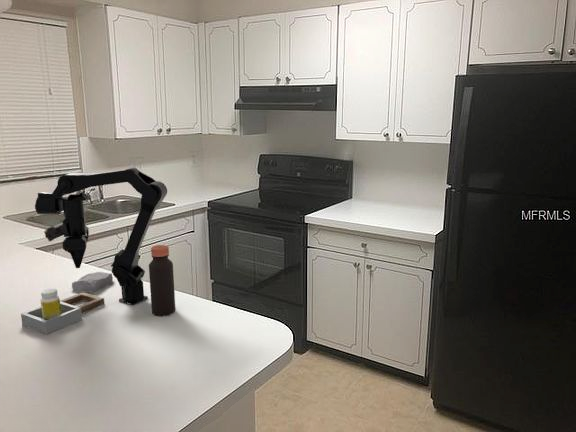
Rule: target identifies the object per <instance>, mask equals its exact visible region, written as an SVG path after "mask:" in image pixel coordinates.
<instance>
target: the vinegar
mask: <svg viewBox="0 0 576 432" xmlns="http://www.w3.org/2000/svg"><path fill="white" fill-rule="evenodd" d="M169 248H170V247H169V246H168V245H165V244H158V245H154V246H151V248H150V252H151V254H150V255H151V258H152V260H151V261H150V262H149V264H148V272H149V289H150V291H149V292H150V305H151V314H152V315H153V316H156V317H167V316H170V315H171V316H172V315H173V314H174V313H175V312H176V296H175V280H174V278H175V277H174V263H173V261H172V260H170V259H169V256H170V255H169V254H170V249H169Z"/></svg>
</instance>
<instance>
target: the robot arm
mask: <svg viewBox="0 0 576 432" xmlns="http://www.w3.org/2000/svg"><path fill="white" fill-rule="evenodd" d="M56 183H57V185H56V187H55V189H54V190H53V192H47V191H40V192H38V193H37V198H36V199H35V204H34V208H35V210H34V211H35V212H36V214H38V215H52V216H53V215H57V216H58V215H60V214H61V213H62V212H63V220H62V222H61V223H58V224H55V225H51V226H50V227H47V228H45V230H44V231H43V234H44V236H45V238H46V239H47V241H48V242H52V241H54V240H55V239H58V238H60V237H63V238H64V239H63V240H62V243H61V244H62V250H64V252H67V253H69V254H70V256H71V259H72V262H73V264H74V267H75V268H76V269H80V268H81V265H82V262H83V259H84V256H85V253H86V251H87V250H86V249H87V244H88V239H89V235H90V230H89V227H88V226H87V224H86V215H85V209H84V208H85V207H84V206H85V205H84V202H85V201H88V200H89V199H91V196H90V195H88V194H87V193H86V192H85V191H84V190H85V189H86V190H87V189H89V188H91V187H100V186H108V185H116V184H123V183H128V184H129V185H131V187H132V188H133V189H134V190H135V191H136V192H137V193H139V194H140V195H141V196H140V197H141V198H140V209H139V212H138V215H137V218H136V220H135V222H134V224H133V227H132V229H131V232H130V235H129V238H128V240H127V243H126V245H125V248H124V249H123V248H122V249H121V250H120V251H117V253H116V254H115V255H114V259H113V262H112V264H111V265H110V267H111V274H112V276H114V278H116V281H117V282H118V284H119V286H120V288H121V298H119V299H118V301H119V302H120V303H121V302H122V303H125V304H128V305H135V304H139V303H140V302H143V301H145V300H147V299H149V296H147V295H145V292H144V291H145V290H144V281H143V280H142V278H144V276H145V273H146V271H145V269H143V268H142V267H141V266H140V265H139V264H138V263H139V258H140V257H139V255H140V250H141V247H142V245H143V242H144V240H145V238H146V237H145V236H146V234H147V231H148V229H149V227H150V224H151V222H152V220H153V217H154V214H155V213H156V211H157V209H158V208H159V207H160V206H161V204H162V203H163V201H164V199H165V198H166V196H167V194H168V188H167V186H166V185H165V183H164V182H162V181H160V180H159V181H158V180H155V179H154V178H153V177H150V176H149V175H147V174H145V173H143V172H142V171H141V170H139V169H138V168H135V167H129V168H127V169H125V168H124V169H118V170H117V169H116V170H110V171H104V172H95V173H88V172H74V171H73V172H70V173H66V174H63V175H61V176H59V178H58V180H57V182H56ZM82 190H83V191H82ZM80 191H82V192H80ZM76 192H79V194H78V193H77V194H76ZM74 193H75V194H74ZM67 195H68V196H67Z"/></svg>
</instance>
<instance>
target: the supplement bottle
mask: <svg viewBox="0 0 576 432" xmlns="http://www.w3.org/2000/svg"><path fill="white" fill-rule="evenodd" d="M40 294H41V298H40V306H41V308H42V316H43V319H44V320H48V319H51V318H53V317H56V316H58V315H61V308H60V300H61V299H60V296H59V295H58V289H57V288H47V289H43V290H41V292H40Z"/></svg>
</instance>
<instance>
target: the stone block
mask: <svg viewBox="0 0 576 432" xmlns="http://www.w3.org/2000/svg"><path fill="white" fill-rule="evenodd" d="M112 281H113V273H112V272H111V273H108V272H104V271H96V272H91V273H87V274H85V275H84V276H81V277H80V278H79V279H78V280H76V281H73V282H72V283H71V289H72V290H73V292H77V293H82V292H84V293H97V292H99V291H100V290H102V289H103V288H105V287H106V286H108V285H109V284H111V283H112Z"/></svg>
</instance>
